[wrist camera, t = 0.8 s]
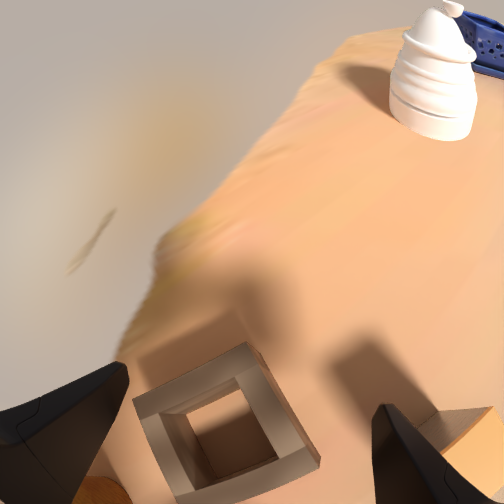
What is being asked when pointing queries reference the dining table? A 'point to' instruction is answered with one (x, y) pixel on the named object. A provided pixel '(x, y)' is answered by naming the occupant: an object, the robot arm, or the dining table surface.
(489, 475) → the steel peg
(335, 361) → the dining table surface
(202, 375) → the socket block
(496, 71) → the flower pot
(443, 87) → the honey pot
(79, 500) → the disposable coffee cup
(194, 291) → the dining table surface
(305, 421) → the dining table surface
